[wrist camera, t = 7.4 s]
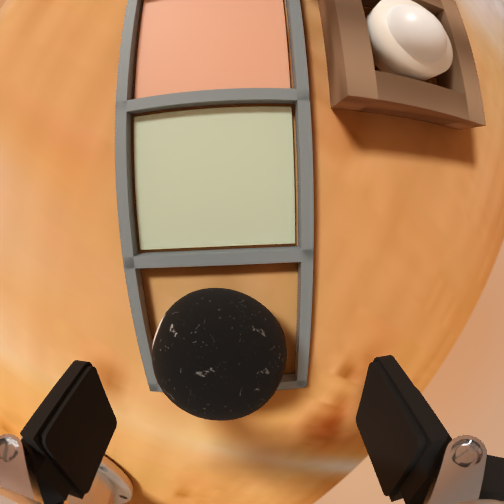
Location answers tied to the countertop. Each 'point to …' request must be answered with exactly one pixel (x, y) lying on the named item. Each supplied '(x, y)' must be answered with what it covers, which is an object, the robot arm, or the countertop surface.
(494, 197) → the countertop surface
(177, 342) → the billiard ball
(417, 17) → the dome button
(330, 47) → the dome housing
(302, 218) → the three-section frame tray
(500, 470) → the robot arm
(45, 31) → the countertop surface
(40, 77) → the countertop surface
